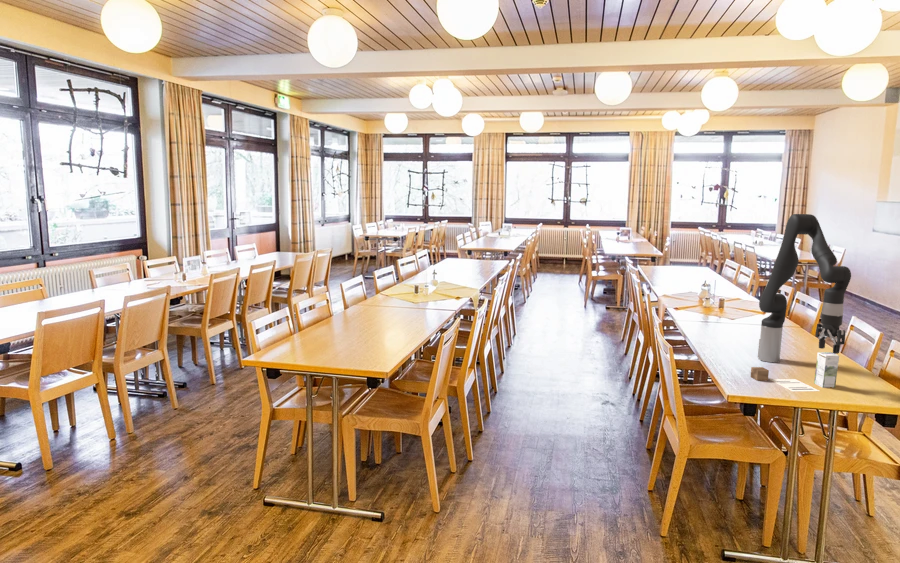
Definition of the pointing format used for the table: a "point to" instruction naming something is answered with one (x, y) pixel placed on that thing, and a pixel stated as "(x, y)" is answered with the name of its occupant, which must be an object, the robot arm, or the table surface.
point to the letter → (793, 385)
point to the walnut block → (759, 373)
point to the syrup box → (826, 369)
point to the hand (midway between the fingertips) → (828, 350)
